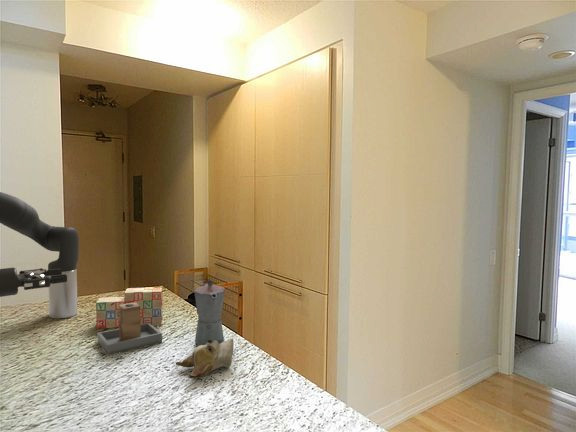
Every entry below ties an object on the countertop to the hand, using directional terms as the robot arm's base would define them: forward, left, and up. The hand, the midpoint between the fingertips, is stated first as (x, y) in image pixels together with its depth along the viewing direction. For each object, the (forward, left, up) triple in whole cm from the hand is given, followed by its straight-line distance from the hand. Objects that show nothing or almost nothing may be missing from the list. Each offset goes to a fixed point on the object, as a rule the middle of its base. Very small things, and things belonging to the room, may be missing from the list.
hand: (64, 274), depth 115 cm
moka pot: (+20, +37, -23) cm, 48 cm away
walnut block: (+6, +17, -22) cm, 28 cm away
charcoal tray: (+6, +17, -22) cm, 29 cm away
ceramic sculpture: (+38, +28, -23) cm, 52 cm away
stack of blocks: (-11, +22, -23) cm, 34 cm away
